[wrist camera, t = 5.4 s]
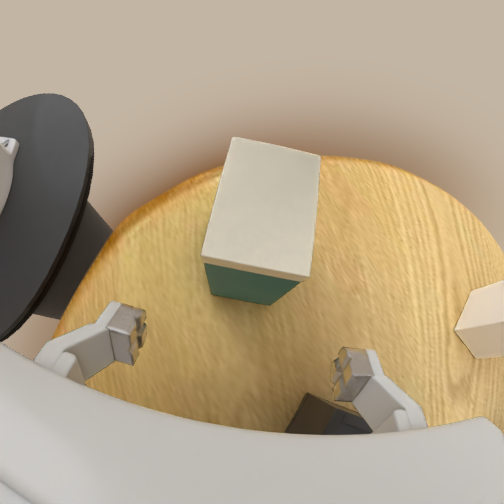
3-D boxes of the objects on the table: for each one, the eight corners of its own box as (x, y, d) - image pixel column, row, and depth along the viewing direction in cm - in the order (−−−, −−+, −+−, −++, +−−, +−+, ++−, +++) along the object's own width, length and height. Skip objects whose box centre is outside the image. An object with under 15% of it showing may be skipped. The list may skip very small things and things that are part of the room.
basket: (226, 515, 17) (229, 556, 10) (306, 392, 21) (336, 408, 15) (350, 538, 16) (375, 567, 10) (420, 432, 20) (462, 445, 14)
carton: (209, 294, 23) (200, 255, 13) (227, 217, 25) (232, 135, 15) (270, 306, 23) (310, 277, 13) (283, 228, 26) (321, 155, 15)
